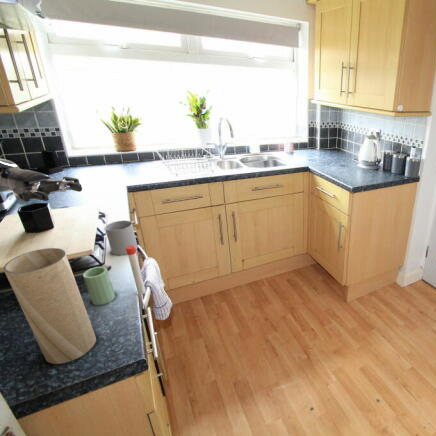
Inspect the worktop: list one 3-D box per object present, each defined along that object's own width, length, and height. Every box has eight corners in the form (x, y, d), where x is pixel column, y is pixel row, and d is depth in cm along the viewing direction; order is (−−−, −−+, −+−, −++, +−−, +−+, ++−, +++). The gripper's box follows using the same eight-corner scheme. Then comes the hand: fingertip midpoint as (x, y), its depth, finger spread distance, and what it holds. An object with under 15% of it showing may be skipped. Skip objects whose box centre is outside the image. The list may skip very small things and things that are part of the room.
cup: (138, 251, 118) (132, 227, 114) (112, 257, 114) (105, 232, 110) (136, 241, 125) (131, 218, 121) (112, 246, 121) (105, 223, 117)
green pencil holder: (97, 307, 90) (88, 280, 86) (88, 300, 93) (79, 273, 89) (118, 297, 95) (110, 270, 91) (109, 290, 98) (101, 264, 94)
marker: (140, 295, 96) (128, 249, 89) (136, 292, 97) (124, 247, 90) (147, 292, 98) (136, 246, 91) (143, 289, 99) (132, 244, 92)
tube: (72, 329, 83) (39, 245, 72) (105, 335, 81) (77, 251, 71) (33, 359, 74) (-11, 269, 63) (70, 367, 73) (32, 276, 62)
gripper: (-6, 177, 87) (29, 187, 82) (52, 165, 99) (86, 173, 94) (5, 202, 90) (39, 213, 85) (60, 188, 102) (93, 197, 97)
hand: (64, 192), depth 89 cm, fingers open, 8 cm apart
